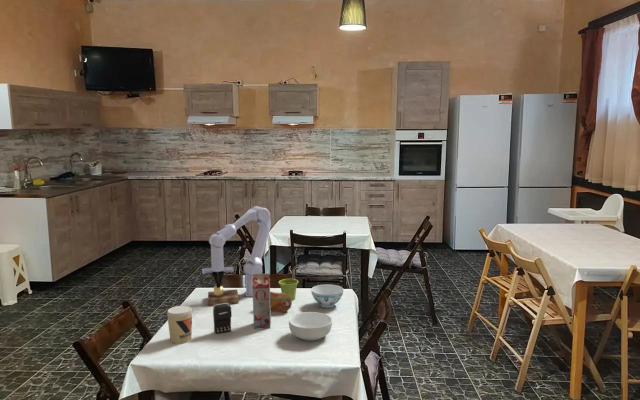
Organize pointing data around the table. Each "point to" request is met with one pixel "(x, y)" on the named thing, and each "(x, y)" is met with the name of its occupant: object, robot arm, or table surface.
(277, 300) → the tin
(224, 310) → the battery charger
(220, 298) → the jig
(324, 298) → the chinaware
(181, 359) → the table surface
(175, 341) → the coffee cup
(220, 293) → the bushing
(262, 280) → the juice carton
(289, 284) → the plant pot
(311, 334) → the cereal bowl
